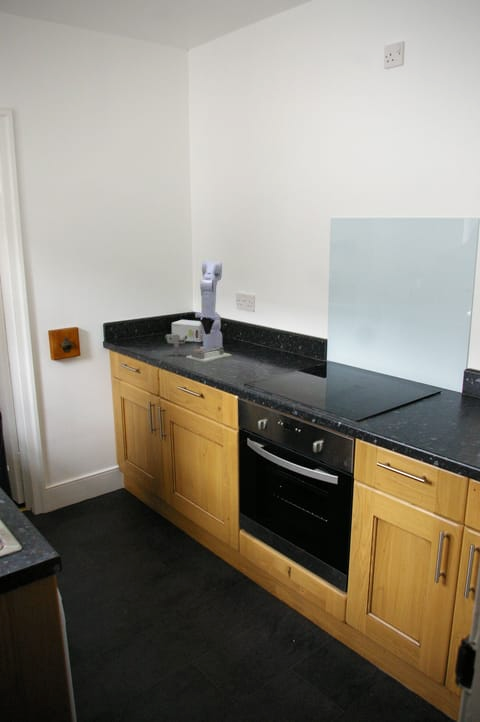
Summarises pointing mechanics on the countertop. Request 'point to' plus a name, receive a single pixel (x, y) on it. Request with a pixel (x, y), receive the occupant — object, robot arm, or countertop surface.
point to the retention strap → (207, 349)
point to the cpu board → (208, 355)
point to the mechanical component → (175, 341)
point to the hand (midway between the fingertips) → (207, 333)
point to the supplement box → (188, 330)
